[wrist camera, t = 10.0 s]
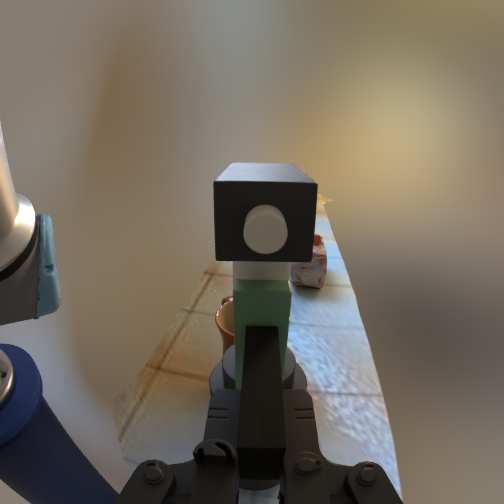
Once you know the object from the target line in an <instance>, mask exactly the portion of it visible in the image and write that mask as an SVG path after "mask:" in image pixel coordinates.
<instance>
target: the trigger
mask: <svg viewBox="0 0 504 504" xmlns="http://www.w3.org/2000/svg"><path fill="white" fill-rule="evenodd" d="M291 295H292V292H291V286H290V281H289V280H248V279H235V282H234V288H233V315H234V349H235V377H236V389H241V384H242V370H243V357H244V344H245V331H246V326H278V331H279V344H280V357H281V371H282V385H283V377H284V368H285V359H286V349H287V339H288V329H289V318H290V307H291Z"/></svg>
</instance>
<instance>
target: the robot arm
mask: <svg viewBox="0 0 504 504" xmlns="http://www.w3.org/2000/svg"><path fill="white" fill-rule="evenodd" d="M60 300H61V299H60V289H59V281H58V272H57V264H56V255H55V246H54V235H53V225H52V220H51V217H50V216H48V215H42V214H39V215H38V216H37V217H36V215H35V212H34V209H33V206H32V204H31V202H30V201H29V200H28V199H27V198H26V197H24V196H23V195H21V194H18V193H15V190H14V186H13V182H12V178H11V174H10V170H9V165H8V161H7V156H6V151H5V146H4V140H3V134H2V128H1V121H0V325H4V324H9V323H14V322H18V321H23V320H28V319H33V318H34V319H38V318H39V317H40V316H43V315H46V314H50V313H53V312H55V311H56V310H57V309H58V308H59V305H60ZM16 382H17V376H16V371H15V369H14V367H13V365H12V363H11V361H10V359H9V358H8V356H7V355H6V354H5V353H4V352H3V351H2V350H1V349H0V412H1V411H2V410H3V409H4V407H5V406H6V405H7V404H8V402H9V401H10V399H11V397H12V396H13V393H14V391H15V388H16ZM193 456H194V459H193V460H191V461H189V462H185V463H179V464H171V465H167V464H166V463H164V462H163V461H159V460H147V461H145V462H142V463H141V464H140V465H139V466H138V467H137V468H136V469H135V471H134V472H133V474H132V475H131V477H130V479H129V480H128V482H127V483H126V485H125V487H124V488H123V490H122V491H121V493H120V494H119V496H118V497H117V499H116V500H115V502H114V504H238V501H239V479H242V480H279V479H280V490H279V494H278V498H277V499H279V504H403V502H402V501H401V499H400V497H399V495H398V494H397V492H396V490H395V488H394V487H393V485H392V483H391V482H390V480H389V478H388V476H387V475H386V473H385V471H384V470H383V469H382V467H381V466H380V465H378V464H376V463H374V462H367V461H366V462H361V463H358V464H356V465H355V466H346V465H340V464H335V463H332V462H330V461H328V460H327V459H326V458H325V457H324V456H323V455H322V454H321V452H320V448H319V442H318V435H317V428H316V422H315V415H314V410H313V402H312V397H311V396H310V395H309V393H308V392H307V390H306V389H283V386H282V371H281V357H280V344H279V331H278V326H246V331H245V344H244V357H243V370H242V384H241V389H224V388H217V389H216V391H215V392H214V393H213V395H212V396H211V398H210V404H209V410H208V417H207V422H206V428H205V434H204V440H203V442H201V443H199V444H198V445H197V446H196V447H195V449H194V451H193Z"/></svg>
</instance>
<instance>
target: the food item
mask: <svg viewBox="0 0 504 504" xmlns="http://www.w3.org/2000/svg"><path fill="white" fill-rule="evenodd" d="M322 238H323V237H322V236H320V235H318V234H314V244H313V255H312V262H291V270H290V274H291V280H292V282H293V283H294V284H297V285H300V286H306V287H314V288H321V287H322V286H323V282H324V278H325V272H326V268H327V267H326V266H327V255H326V251H325V247H324V242H323V240H322Z"/></svg>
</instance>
